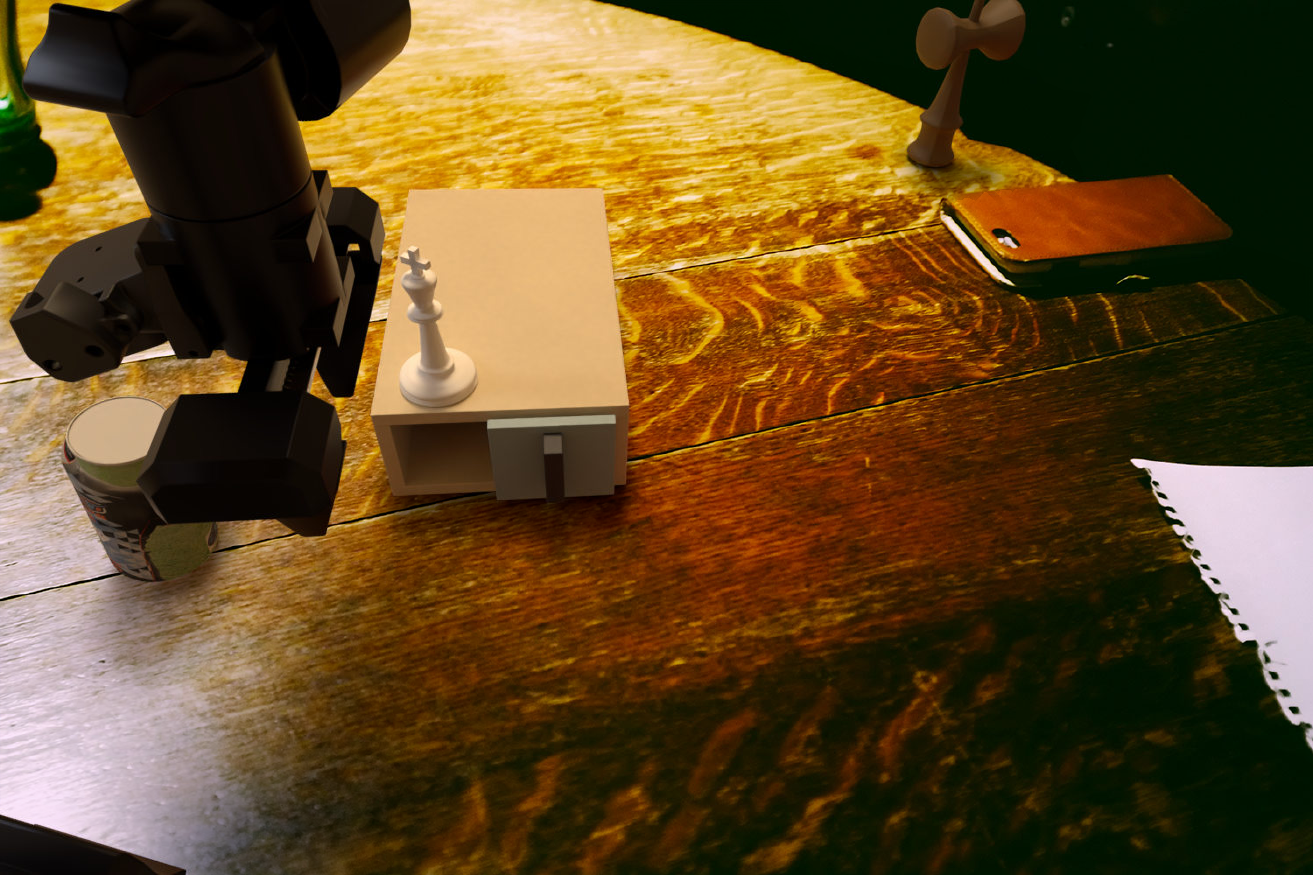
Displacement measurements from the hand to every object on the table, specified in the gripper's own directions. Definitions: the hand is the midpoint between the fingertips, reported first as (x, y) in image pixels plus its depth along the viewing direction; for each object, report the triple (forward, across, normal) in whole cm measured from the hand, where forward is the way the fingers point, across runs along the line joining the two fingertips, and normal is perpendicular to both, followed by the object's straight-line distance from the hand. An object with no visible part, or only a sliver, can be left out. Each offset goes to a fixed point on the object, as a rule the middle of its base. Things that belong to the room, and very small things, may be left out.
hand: (330, 459), depth 41 cm
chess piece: (+5, -11, +4) cm, 13 cm away
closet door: (+13, -6, +11) cm, 18 cm away
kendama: (+13, -53, +54) cm, 77 cm away
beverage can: (+13, -4, -13) cm, 19 cm away
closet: (+13, -21, +8) cm, 26 cm away
